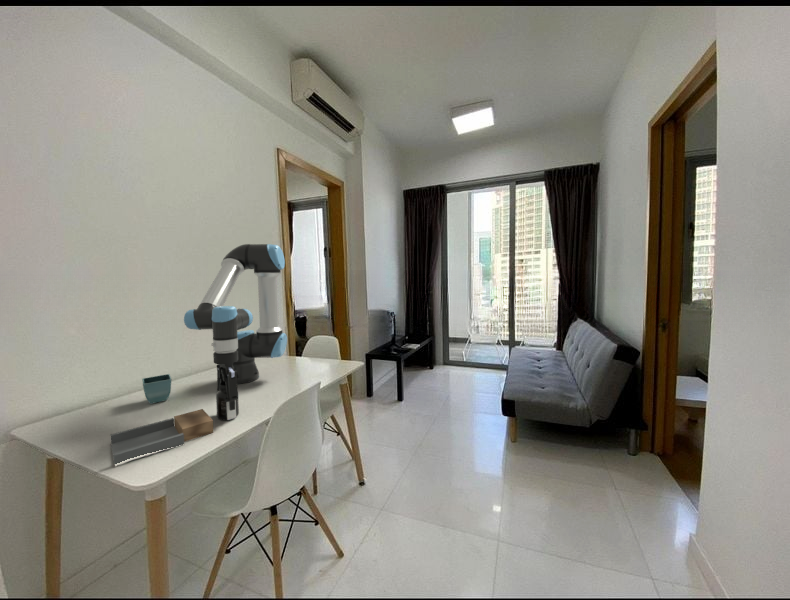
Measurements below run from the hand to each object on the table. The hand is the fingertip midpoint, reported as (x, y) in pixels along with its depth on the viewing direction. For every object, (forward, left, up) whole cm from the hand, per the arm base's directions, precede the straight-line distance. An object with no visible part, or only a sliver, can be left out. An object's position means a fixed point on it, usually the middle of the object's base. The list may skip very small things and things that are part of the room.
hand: (228, 414), depth 107 cm
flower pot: (+15, -35, -1) cm, 38 cm away
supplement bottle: (0, 0, -1) cm, 1 cm away
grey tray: (+22, +3, -1) cm, 23 cm away
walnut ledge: (+11, +3, -1) cm, 11 cm away
